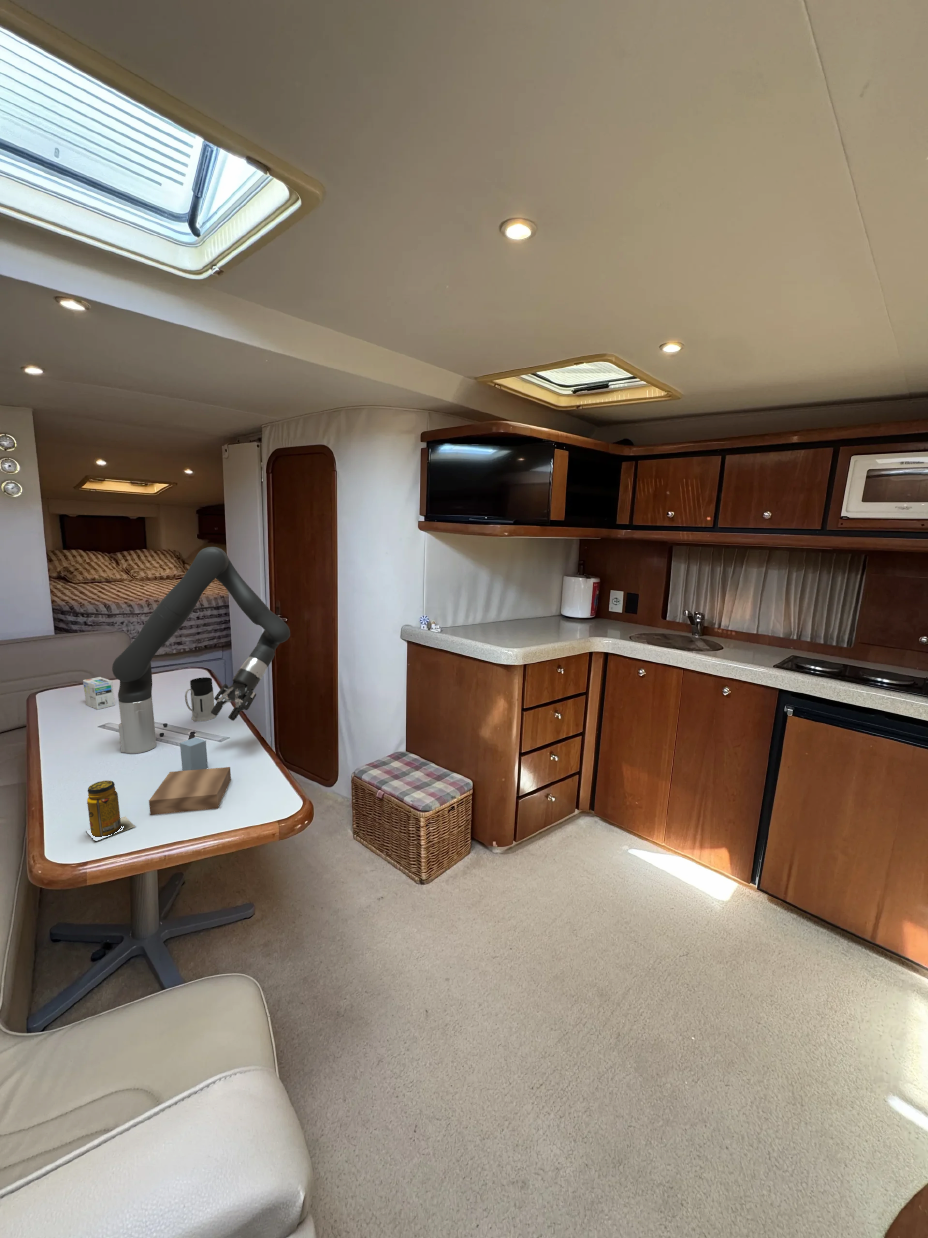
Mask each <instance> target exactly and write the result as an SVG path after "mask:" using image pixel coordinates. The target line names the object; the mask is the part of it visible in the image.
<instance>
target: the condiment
mask: <svg viewBox="0 0 928 1238" xmlns="http://www.w3.org/2000/svg"><path fill="white" fill-rule="evenodd" d="M88 786H89V785H88ZM115 786H116V785H115V782H114V781H112V780H100V781H97V782H95V783H92V784H91V785H90V786H89V787H88V788H87V796H88V797H87V799H86V804H87V809H88V810H87V811H88V818H89V820H88V821H89V826H90V829H91V833H92V835H93V836H95V837H102V836H108V835H111V834H112V835H113V834H114V833H115V832H117V831H118V830H119V829H120V828H121V826H122V827H123V826H124V828H123V830H122V831H120V832H117V833H115V834H114V835H113V836H115V835H118V834H119V833H123V832H126V831H128V830H130V829H132V828H135V827H136V825H135V824H133V822H132V821H130V819H129V818H128V817H127V816H126V815H125V816H123V817H121V813H120V804H119V794H118V792H117V790H116V787H115ZM90 829H89V830H90ZM121 829H122V828H121ZM121 829H120V830H121Z"/></svg>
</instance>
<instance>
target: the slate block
mask: <svg viewBox="0 0 928 1238" xmlns="http://www.w3.org/2000/svg"><path fill="white" fill-rule="evenodd" d="M179 747H180V748H179V749H180V759H181V769H182V770H181V771H187V770H199V769H207V768H208V769H209V766H208V764H209V762H208V751H207V740H205V739H202V738H199V737H197V736H196V737H192V738H190V739H187V740H184V741H182V742H179Z"/></svg>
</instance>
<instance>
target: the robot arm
mask: <svg viewBox="0 0 928 1238" xmlns="http://www.w3.org/2000/svg"><path fill="white" fill-rule="evenodd" d="M215 579H216V580H217V581H218V582H219V583H220V584H221V585H222V586H223V587H224V588H225V589H226V590H227V592H228V593H229V594H230V596H231V597H232V598H233V600H234V601H235V603H236V605H237V606H238V607H239V609H240V610H241V611H242V612H243V613H244V614H245V615H246V617H247V618H248V619H249V620H250V621H251V622H252V623H253V624H254V625H256V626H260V627H261V628H262V629H263V632H262V633H261V635H260V637H259V639H258V641H257V644H256V646H255V647H254V649H253V650H252V651H251V652H250V654H249V655H248V657H247V659H246V660H245V661H244V662H243V663H242V665H241V666H240V668H239V669H238V671H237V672H236V674H235V675H234V676H233V677H232V682H233V683H232V684H231V685H230V686H229V685H228V684H226V683H224V684H223V685H222V687H221V688H220V689H219V691H218V692H217V694H216V695H214V701H215V702H216V703H215V704H214V708H213V709H212V711H211V713H212V714H213V715H215V716H216V717H217V716H218V715H219V713H220V712H221V711H222V709H223V708H224V706H225V705H226V704H227V703H231V702H235V706H234V708H233V709H232V710H231V712H230V713H229V715H228V720H230V721H233V722H234V721H235V720H236V719H237V718H238V717H239V715H240V713H241V712H243V711H248V710H249V709H250V707H251V705H252V703H253V702H254V700H255V699H256V696H257V693H256V692H254V690H255V689H256V688H257V685H259V683H260V681H261V680H262V678H263V677H264V675H265V673H266V671H267V669H268V667H269V666H270V664H271V663H272V661H273V660H274V657H275V655H276V653H275V652H276V649H278V647H279V645H280V644H282V643H284V642H286V641H288V639H289V638H290V637H291V630H290V626H289V625H288V624H287V623H286V622H285V621H284V620H283V619H281V617H279V616H278V615H277V614H276V613H274V612H273V611H271V610H270V608H269V607H268V606H267V605H266V603H265V602H264V601H263V600H262V599H261V598H260V597H259V595H258V594H257V593H255V591H254V590H253V589H252V588H251V587H250V586H249V584H248V583H246V582H245V580H244V579H243V577H242V576H241V575H240V574H239V573H238V571H237V570H236V567H235V566H234V565H233V564H232V562H231V560H230V558H229V556H228V554H227V553H226V552H225V550H223V549H222V548H220V547H216V546H208V547H205V548H202V549H201V550H200V551H199V552H198V553H197V554H196V556H195V558H194V559H193V561H192V563H191V564H190V566H189V568H188V569H187V571H186V572H185V574H184V575H183V577H182V578H181V580H180V581H178V583H177V584H176V585H174V586H173V587H172V588H171V589H170V591H169V592H168V593H167V594H166V595H165V596H164V598H163V599H162V600H161V601H160V602H159V604H158V605H157V606H156V607H155V609H154V610H153V612H152V613H151V614H150V615H149V617H148V618H147V620H146V622H145V623H144V625H143V626H142V628H141V629H140V631H139V633H138V635H137V636H136V637H135V639H134V640H132V642H131V643H130V644H129V645H128V646H127V647H126V649H124V651H122V653H120V654H119V655H118V656H117V657H115V658H114V661H113V663H112V667H111V668H112V669H111V671H112V674H113V676H114V677H115V678H116V679H117V680H119V689H118V692H117V698H118V707H119V717H120V723H119V724H118V733H119V743H120V752H121V753H125V754H140V753H145V752H148V751H151V750H153V749H154V748H156V747H157V736H156V726H155V713H154V705H153V693H152V689H153V672H152V663H151V662H152V660H153V658H154V657H155V655H156V654H157V652H158V651H159V650H160V649H161V648H162V647H164V645H165V644H166V643H167V642H168V641H169V640H170V639H171V638H172V637H173V636H174V635H175V634H176V633H177V632H178V631H179V630H180V628H181V627H183V626H184V623H186V621H187V620H188V618H189V617H190V615H191V614H192V613H193V611H194V610H195V608H196V606H197V604H198V603H199V601H200V598H201V597H202V594H203V593H204V592H205V590H206V589H207V588H208V587H209V586H210V585H211V584H212V582H214V581H215Z"/></svg>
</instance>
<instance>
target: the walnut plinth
mask: <svg viewBox="0 0 928 1238" xmlns="http://www.w3.org/2000/svg"><path fill="white" fill-rule="evenodd" d="M231 773H232V772H231V766H225V767H214V768H208V769H199V770H187V771H182V770H178V771H169V773H167V775H166V776H165V778H164V780H162V782H161V783H160V785H159V786H158V788H157V789H156V790H155V791H154V793H153V794H152V795H151V797H150V798H149V800H148V806H149V815H150V816H153V815H164V814H174V813H175V814H176V813H185V812H194V811H195V812H196V811H205V810H214V809H215V810H217V809H219V806H220V805H221V803H222V800H223V798H224V796H225V793H226V791H227V789H228V787H229V785H230V783H231V780H232V774H231Z"/></svg>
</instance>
